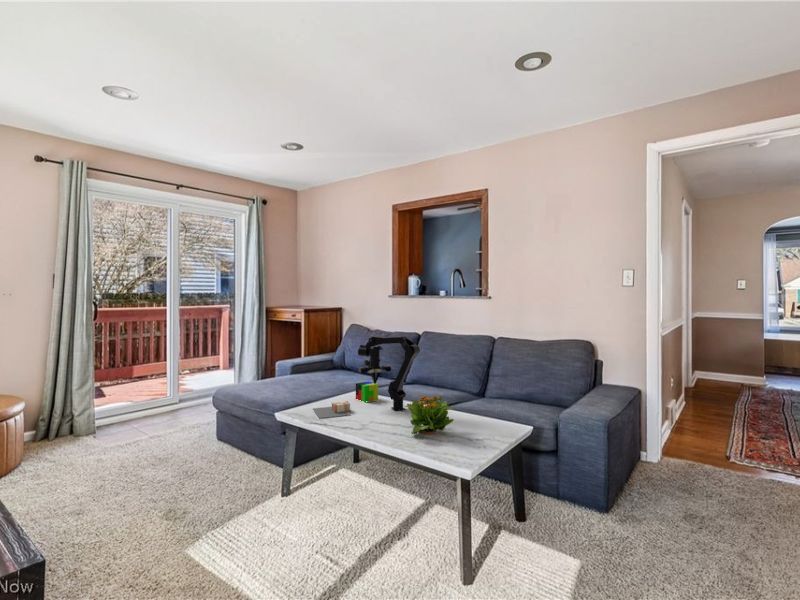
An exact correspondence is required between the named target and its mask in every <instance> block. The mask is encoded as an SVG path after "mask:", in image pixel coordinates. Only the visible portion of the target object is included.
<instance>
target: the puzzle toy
mask: <svg viewBox="0 0 800 600" xmlns="http://www.w3.org/2000/svg"><path fill="white" fill-rule="evenodd" d="M356 399H358V400H357V401H359V400H361V401H360V402H362V401H364V402H363V403H367V402H366V401H370V402H373V400H375V401H379V384H378V383H376V384H374V382H372V381H362V382H356V383H355V400H356Z"/></svg>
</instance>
